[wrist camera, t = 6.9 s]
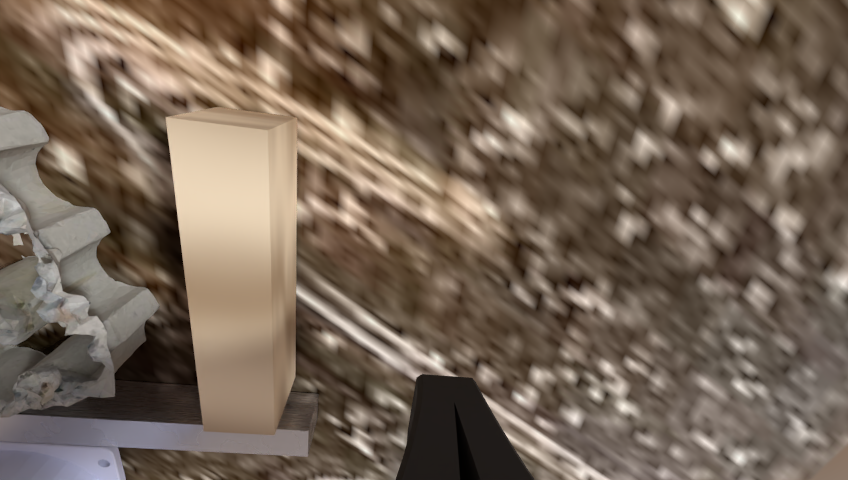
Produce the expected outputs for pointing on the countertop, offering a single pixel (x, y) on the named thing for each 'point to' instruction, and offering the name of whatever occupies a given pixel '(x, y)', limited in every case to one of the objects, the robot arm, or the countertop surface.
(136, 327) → the egg carton
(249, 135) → the block
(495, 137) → the countertop surface
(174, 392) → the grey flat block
